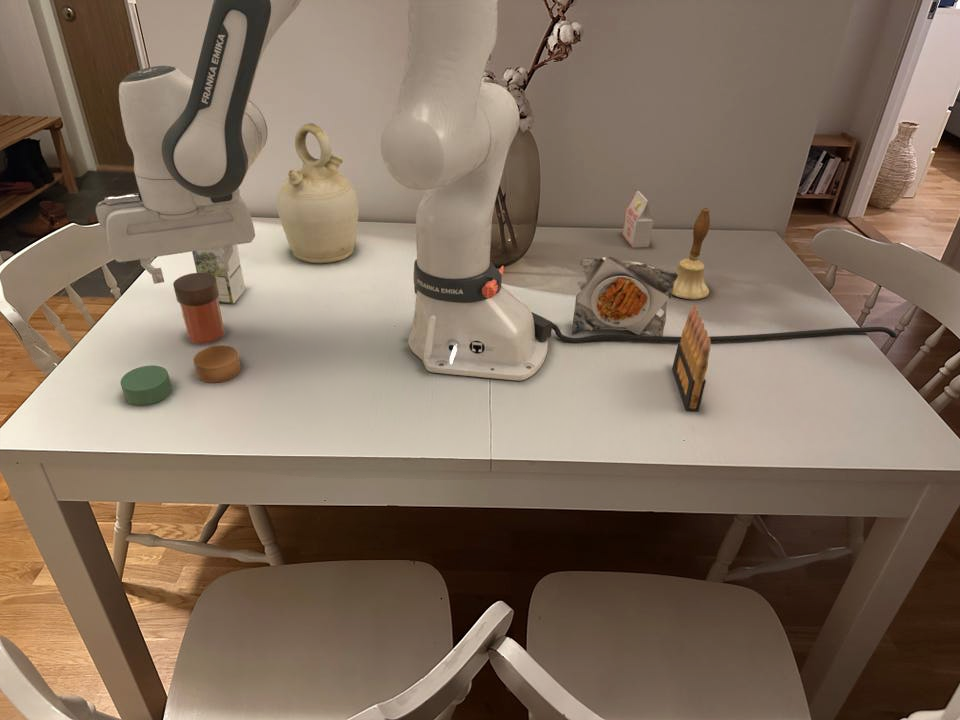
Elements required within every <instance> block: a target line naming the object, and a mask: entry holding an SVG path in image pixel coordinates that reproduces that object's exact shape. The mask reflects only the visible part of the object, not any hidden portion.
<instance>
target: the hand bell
mask: <svg viewBox="0 0 960 720" xmlns="http://www.w3.org/2000/svg"><path fill="white" fill-rule="evenodd" d="M710 215H711V214H710V208H708V207H703V208H702V209H701V211H700V212H699V214H698V216H697V217H696V219H695V222H694V225H693V229H692V230H693V231H692V237H693V239H692V246H691V249H690V253H689V255H688V258H683V259H681V260H680V261H679V264H678V267H677V269H676V271H675V272H676V273H677V274H678V277H677V279H676V280H675V281H674V288H673V293H672V296H674V297H678V298H680V299H684V300H692V301H693V300H701V299H705V298H707V297H708V296H709V294H710V289H709V286H708V285H707V284H706V282H705V277H704V276H705V264H704V262H702V261H700V260H699V258H700V255H701V250H702V245H703V242H704V240H705V238H706V236H707V235H708V232H709V230H710V226H711V216H710Z"/></svg>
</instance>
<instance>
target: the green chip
mask: <svg viewBox="0 0 960 720" xmlns="http://www.w3.org/2000/svg"><path fill="white" fill-rule="evenodd" d="M119 382H120V383H119V384H120V386H121V387H120V388H121V390H122V393H123V396H124V400H125V401H126V402H127V403H128V404H130V405H133V406H141V407H144V406H151V405H153V404H158V403H160V402H162V401H164V400H165V399H166V398H168V397H169V396H170V395H171V393H172V392H173V386H172V381H171V379H170V375H169V371H168V370H167V369H166V368H165V367H163V366H160V365H143V366H139V367H135V368H134V369H131V370H130V371H128V372H126V373H125V374H124V375H123V376H122V377H121V379H120V381H119Z"/></svg>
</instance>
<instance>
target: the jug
mask: <svg viewBox="0 0 960 720" xmlns="http://www.w3.org/2000/svg"><path fill="white" fill-rule="evenodd" d="M309 133H310V134H312V135H313V136H314V137H315V138H316V141H318V144H319V148H320V156H319V158H315V157H314V156H312V155H311V154H310V152H309V150H308V147H307V143H306V142H307V141H306V140H307V135H308V134H309ZM294 147H295V151H296V154H297V156H298V157H299V159H300V160H301V161H302V167H301V168H300V169H298V170H297V171H296V170H294V169H290V170H289V171H288V173H287V174H288V178H286V179H285V180H284V182H283V183H282V185H281V186H280V189H279V191H278V196H277V213H278V216H279V219H280V223H281V227H282V229H283V232H284V234H285V237H286V240H287V242H288V245H289V248H290V249H291V251H292V255H293V256H294V257H295V258H296V259H297V260H300V261H302V262H305V263H309V264H331V263H337V262H340V261H343V260H345V259H347V258H348V257H350V256H351V255H352V254H353V253H354V251H355V244H356V240H357V231H358V225H359V224H358V223H359V215H360V213H359V211H360V206H359V205H360V204H359V199H358V195H357V192H356V189H355V188H354V186H353V184H352V183H351V181H350V180H349V179H348V178H347V177H346V176H344V175H343V174H341V173H340V172H339V171H338V169H339V168H340V166H341V165H342V164H343V163H344V159H343V158H342V157H340V156H339V155H336V154H334V153H332V146H331V141H330V138H329V136H328V135H327V133H326V132H325V130H324V129H323V128H322V127H320V126H319V125H317V124H315V123H312V122H311V123H305V124H303V125H301V126H300V127H299V128H298V129H297V131H296V133H295V135H294Z"/></svg>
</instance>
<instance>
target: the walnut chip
mask: <svg viewBox="0 0 960 720" xmlns="http://www.w3.org/2000/svg"><path fill="white" fill-rule="evenodd" d="M172 286H173V291H174V293H175V297H176V298H175V299H176V302H178V304H179V305H180V304H182V305H185V306H200V305H205V304H208V303H210V302H212V301H214V300H216V299H217V298H218V296H219V291H218V286H217V282H216V278H215V277H214V276H213V275H211V274H208V273H197V272H193V273H188V274H185V275H181V276H179V277H178V278H176V279H175V280H174V281H173V284H172Z"/></svg>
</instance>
